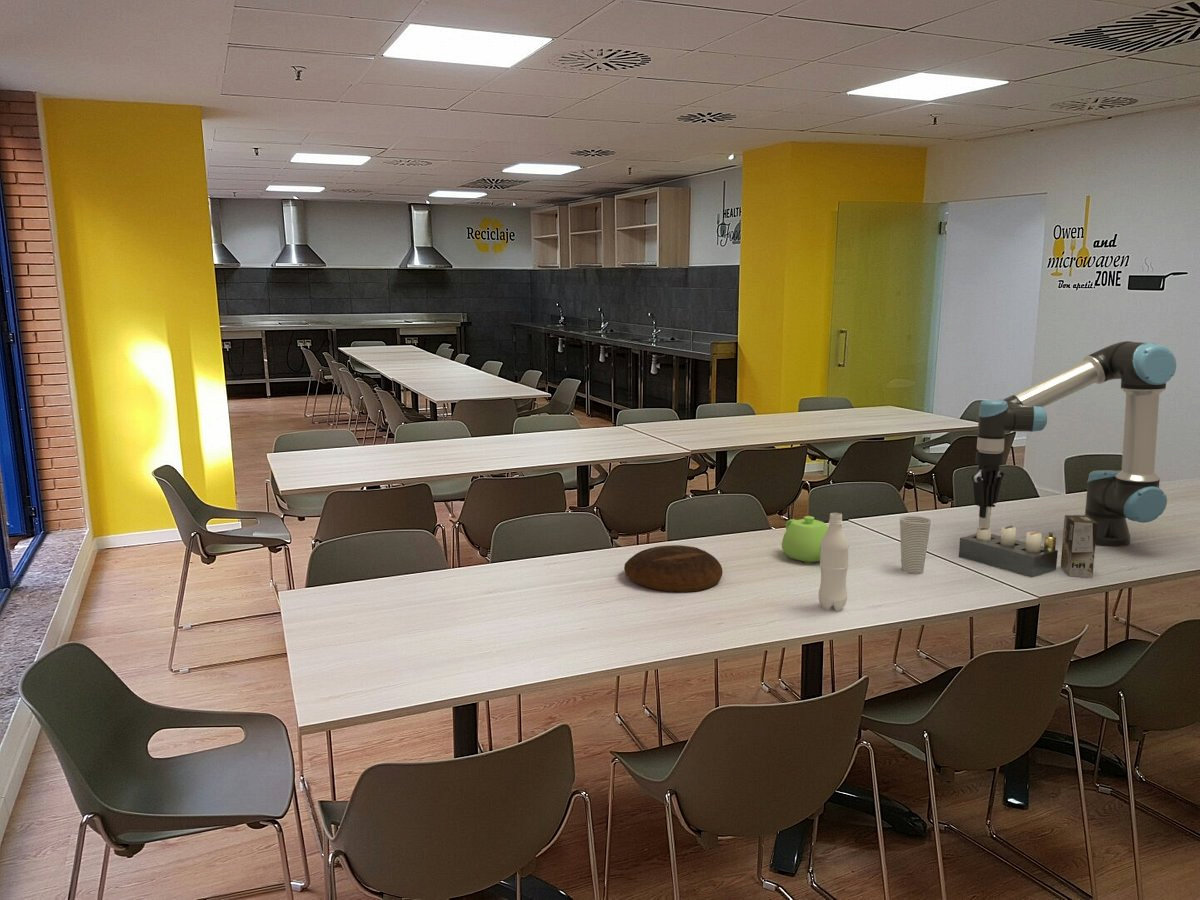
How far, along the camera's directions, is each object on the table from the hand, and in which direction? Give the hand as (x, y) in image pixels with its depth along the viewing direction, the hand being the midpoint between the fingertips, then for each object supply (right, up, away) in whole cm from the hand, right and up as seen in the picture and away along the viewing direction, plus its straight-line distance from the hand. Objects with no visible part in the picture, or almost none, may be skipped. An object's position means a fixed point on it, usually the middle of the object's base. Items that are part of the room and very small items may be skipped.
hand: (983, 527), depth 273 cm
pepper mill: (+14, -6, -13) cm, 19 cm away
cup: (-26, -12, -11) cm, 31 cm away
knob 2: (+4, -6, -6) cm, 9 cm away
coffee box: (+21, -12, -14) cm, 28 cm away
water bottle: (-57, -18, -40) cm, 72 cm away
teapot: (-53, -10, +1) cm, 54 cm away
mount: (+5, -10, -5) cm, 12 cm away
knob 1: (0, -7, +1) cm, 7 cm away
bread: (-96, -14, -15) cm, 98 cm away
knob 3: (+9, -7, -12) cm, 17 cm away
